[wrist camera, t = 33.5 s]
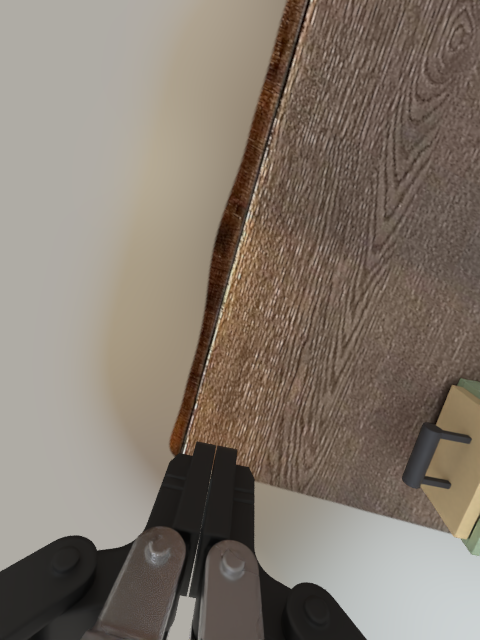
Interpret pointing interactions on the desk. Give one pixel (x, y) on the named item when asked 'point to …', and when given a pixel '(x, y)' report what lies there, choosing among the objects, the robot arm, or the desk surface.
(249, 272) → the desk surface
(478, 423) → the drawer
